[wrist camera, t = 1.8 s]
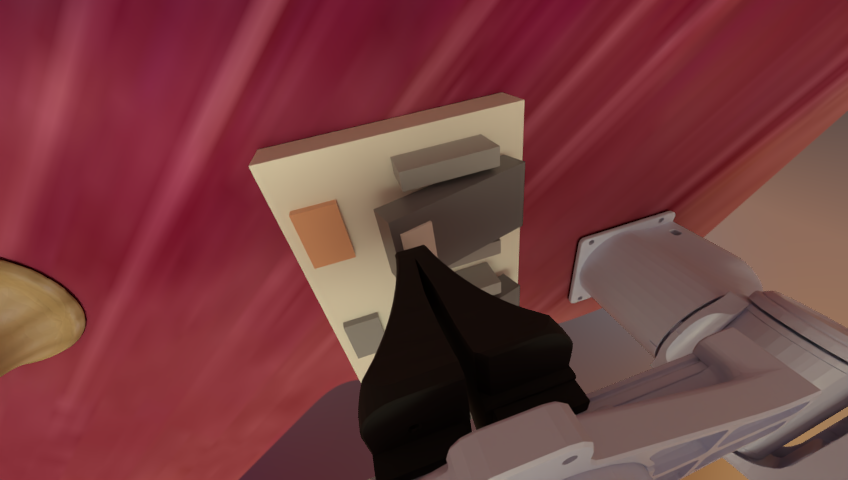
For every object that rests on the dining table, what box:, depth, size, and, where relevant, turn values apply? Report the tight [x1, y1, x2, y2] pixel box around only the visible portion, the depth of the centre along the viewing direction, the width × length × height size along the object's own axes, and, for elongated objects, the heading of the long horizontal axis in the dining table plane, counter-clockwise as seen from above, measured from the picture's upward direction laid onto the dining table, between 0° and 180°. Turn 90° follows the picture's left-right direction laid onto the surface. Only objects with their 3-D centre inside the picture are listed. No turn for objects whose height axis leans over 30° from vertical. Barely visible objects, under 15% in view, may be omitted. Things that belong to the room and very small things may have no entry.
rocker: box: [373, 154, 525, 277], centre depth 16 cm, size 8×4×2 cm, turn 99°
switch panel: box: [249, 92, 524, 383], centre depth 23 cm, size 14×27×5 cm, turn 9°
